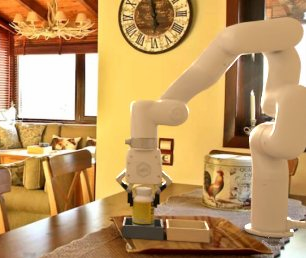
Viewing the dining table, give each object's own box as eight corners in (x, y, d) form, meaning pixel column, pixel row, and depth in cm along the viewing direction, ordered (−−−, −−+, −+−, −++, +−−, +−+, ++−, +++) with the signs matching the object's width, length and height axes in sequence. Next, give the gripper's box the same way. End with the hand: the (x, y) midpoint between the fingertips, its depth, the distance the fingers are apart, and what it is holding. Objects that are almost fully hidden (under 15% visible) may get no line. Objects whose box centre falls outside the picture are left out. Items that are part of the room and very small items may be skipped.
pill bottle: (155, 229, 144) (155, 190, 143) (132, 228, 145) (132, 190, 144) (153, 224, 150) (154, 186, 149) (132, 223, 151) (132, 186, 150)
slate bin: (162, 230, 151) (162, 218, 151) (163, 240, 141) (163, 227, 141) (124, 228, 154) (124, 216, 154) (122, 237, 144) (122, 225, 144)
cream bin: (205, 232, 148) (206, 220, 148) (209, 242, 138) (209, 229, 138) (166, 230, 151) (166, 219, 150) (167, 240, 141) (167, 227, 141)
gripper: (112, 144, 144) (111, 207, 146) (176, 145, 140) (175, 210, 141) (113, 142, 152) (113, 202, 153) (175, 143, 147) (174, 205, 148)
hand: (143, 205), depth 147 cm, fingers closed on pill bottle, 6 cm apart
